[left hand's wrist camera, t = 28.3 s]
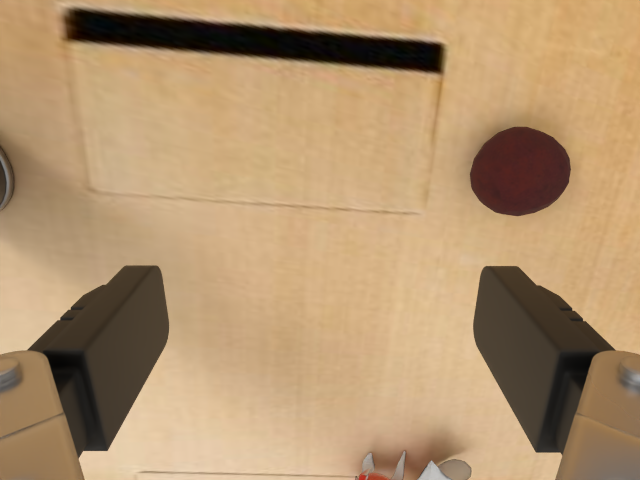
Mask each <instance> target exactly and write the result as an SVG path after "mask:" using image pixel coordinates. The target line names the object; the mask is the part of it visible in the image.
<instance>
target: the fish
mask: <svg viewBox="0 0 640 480" xmlns="http://www.w3.org/2000/svg"><path fill="white" fill-rule="evenodd" d="M405 454H406V452H405V451H404V453H403V455H402V457H401V459H400V460H399V463H398V465H397V468H396V471H395V473H394V475H393V477H392V478H391V479H389V478H388V477H386V476H384V475H381V474H378V473H373V471H374V469H375V465H374V462H373V456H372V453H369V454H368V455H367V456H366V458H365V459H364V461H363V464H362V474H360V476H359V478H357V476H356V480H403V476H404V463H405ZM470 477H471V467H470V466H469V465H468V464H467V463H466V462H465V461H461V460H455V459H452V460H449V461H446V462H444V463H442V464H440V465H439V466H438V467H437V466H436V465H435V464H434V463H433V462H432V460H431V461H430V463H429V464H428V465H427V466H426V467H425V469H424V470H423V472H422V473H421V475H420V477H419V478H418V479H417V480H467V479H469V478H470Z"/></svg>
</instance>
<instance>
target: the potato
mask: <svg viewBox="0 0 640 480" xmlns="http://www.w3.org/2000/svg"><path fill="white" fill-rule="evenodd" d="M570 170H571V168H570V159H569V157H568V155H567V153H566V151H565V149H564V148H563V147H562V146H561V145H560V144H559V143H558V142H557V141H556V140H555V139H554V138H553V137H551V136H549V135H547V134H545V133H543V132H541V131H538V130H535V129H531V128H528V127H513V128H510V129H507V130H504V131H502V132H499V133H497V134H496V135H495V136H494V137H492V138H491V139H490V140H489V141H487V142H486V143H485V144H484V145H483V147H482V148H481V150H480V151H479V153H478V154H477V156H476V157H475V158H474V162H473V165H472V169H471V172H470V178H471V187H472V190H473V191H474V193H475V194H476V196H477V197H478V199H479V200H480V201H481V202H482V203H483V204H484V205H485V206H487V207H488V208H490V209H491V210H493V211H494V212H496V213H500V214H506V215H513V216H521V215H526V214H530V213H535V212H537V211H539V210H542V209H544V208H546V207H548V206H550V205H551V204H552V203H553V202H555V201H556V200H557V199H558V198H559V197H560V195H561V194H562V193H563V191H564V190H565V188H566V186H567V185H568V183H569V177H570Z"/></svg>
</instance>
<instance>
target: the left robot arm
mask: <svg viewBox="0 0 640 480" xmlns="http://www.w3.org/2000/svg"><path fill="white" fill-rule="evenodd" d="M13 186H14V179H13V173H12V169H11V166H10V163H9V161H8V159H7V157H6V155H5V153H4V152H3V150H2V149H1V148H0V211H1V210H2V209H3V208H4V207H5V206H6V205H7V203H8V202H9V200H10V198H11V195H12V192H13ZM473 330H474V338H475V342H476V345H477V347H478V349H479V351H480V353H481V355H482V356H483V358H484V360H485V362H486V363H487V365H488V367H489V369H490V371H491V372H492V374H493V376H494V378H495V380H496V381H497V383H498V385H499V387H500V389H501V390H502V392H503V394H504V396H505V398H506V399H507V401H508V403H509V405H510V407H511V408H512V410H513V412H514V414H515V415H516V417H517V419H518V421H519V423H520V424H521V426H522V428H523V430H524V432H525V433H526V435H527V437H528V439H529V441H530V442H531V444H532V446H533V448H534V450H535V451H536V452H561V454H562V459H561V463H560V466H559V469H558V473H557V476H556V479H555V480H640V355H638V354H635V353H630V352H625V351H616V350H615V349H614V348H613V347H612V346H611V345H610V344H609V343H608V342H607V341H606V340H604V339H603V338H602V337H601V336H600V335H599V334H598V333H597V332H596V331H595V330H594V329H593V328H592V327H591V326H590V325H589V324H588V323H587V322H586V321H583V318H582V317H581V316H580V315H579V314H578V313H577V312H575V311H572V308H571V307H570V306H569V305H568V304H567V303H566V302H565V301H564V300H563V299H562V298H561V297H560V296H558V295H557V294H555V293H553V292H551V291H549V290H547V289H545V288H544V287H542V286H537V285H536V284H535V283H534V282H533V281H532V280H531V279H530V278H529V277H528V276H527V275H526V274H525V273H524V272H523V271H522V270H521V269H520V268H519V267H517V266H486V267H484V268H483V270H482V272H481V276H480V282H479V289H478V295H477V302H476V309H475V315H474V323H473ZM168 333H169V319H168V312H167V306H166V299H165V292H164V285H163V279H162V273H161V270H160V268H159V267H158V266H124V267H123V268H122V269H121V270H120V271H119V272H118V273H117V274H116V275H115V276H114V277H113V278H112V279H111V280H110V281H109V283H108V284H107V285H102V286H100V287H98V288H96V289H94V290H92V291H90V292H89V293H87V294H85V295H83V296H82V297H81V298H80V299H79V300H78V301H77V302H76V303H75V304H74V305H73V306H72V307H71V310H68V311H67V312H66V313H65V314H64V315H63V316H62V317H61V319H60V320H58V321H57V322H56V323H55V324H53V325H52V326H51V327H50V328H49V329H48V330H47V331H46V332H45V333H44V334H43V335H42V336H41V337H40V338H39V339H38V340H37V341H36V342H35V343H34V344H33V345H32V346H31V347H30V348H29V349H28V350H27V351H15V352H10V353H5V354H2V355H0V480H85V479H84V476H83V473H82V469H81V466H80V463H79V457H80V455H81V454H82V452H83V451H108V449H109V447H110V445H111V443H112V442H113V440H114V438H115V436H116V434H117V433H118V431H119V429H120V427H121V425H122V423H123V422H124V420H125V418H126V416H127V414H128V413H129V411H130V409H131V407H132V405H133V403H134V402H135V400H136V398H137V396H138V394H139V393H140V391H141V389H142V387H143V385H144V383H145V382H146V380H147V378H148V376H149V374H150V373H151V371H152V369H153V367H154V365H155V364H156V362H157V360H158V358H159V356H160V354H161V353H162V351H163V349H164V347H165V345H166V342H167V339H168Z"/></svg>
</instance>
